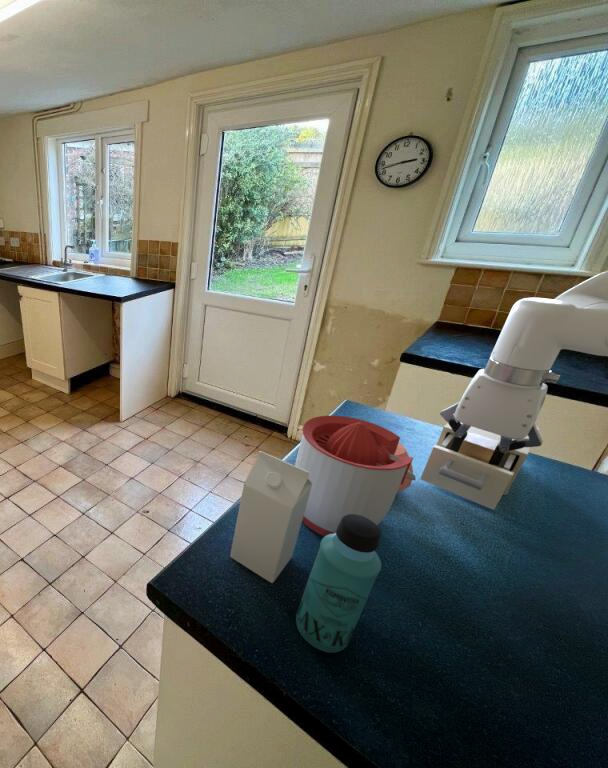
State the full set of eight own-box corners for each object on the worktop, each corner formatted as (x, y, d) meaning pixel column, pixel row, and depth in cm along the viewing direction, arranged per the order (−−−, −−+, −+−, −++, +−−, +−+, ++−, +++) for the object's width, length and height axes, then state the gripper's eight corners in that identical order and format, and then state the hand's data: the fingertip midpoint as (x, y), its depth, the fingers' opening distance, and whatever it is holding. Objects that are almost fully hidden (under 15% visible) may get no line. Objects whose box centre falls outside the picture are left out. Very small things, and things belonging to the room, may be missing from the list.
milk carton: (250, 533, 71) (270, 441, 63) (292, 557, 67) (319, 461, 58) (229, 557, 67) (247, 461, 58) (272, 584, 62) (298, 484, 54)
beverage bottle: (286, 611, 58) (318, 501, 50) (336, 617, 57) (378, 506, 49) (300, 659, 52) (340, 543, 44) (356, 666, 52) (408, 550, 43)
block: (489, 461, 78) (499, 441, 77) (484, 470, 76) (494, 450, 74) (460, 450, 82) (469, 431, 80) (454, 459, 79) (463, 440, 77)
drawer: (487, 525, 72) (506, 489, 68) (410, 491, 80) (424, 458, 76) (508, 479, 83) (526, 446, 79) (439, 453, 91) (452, 423, 87)
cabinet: (505, 495, 80) (528, 454, 76) (427, 465, 88) (443, 426, 84) (519, 465, 88) (540, 427, 84) (446, 440, 97) (462, 404, 93)
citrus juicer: (406, 565, 65) (453, 461, 57) (287, 540, 70) (314, 441, 61) (377, 500, 79) (411, 408, 70) (279, 483, 83) (300, 395, 75)
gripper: (588, 382, 67) (536, 473, 75) (459, 353, 79) (425, 434, 87) (584, 395, 63) (529, 490, 71) (448, 362, 74) (414, 447, 82)
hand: (472, 458), depth 79 cm, fingers closed on block, 4 cm apart
